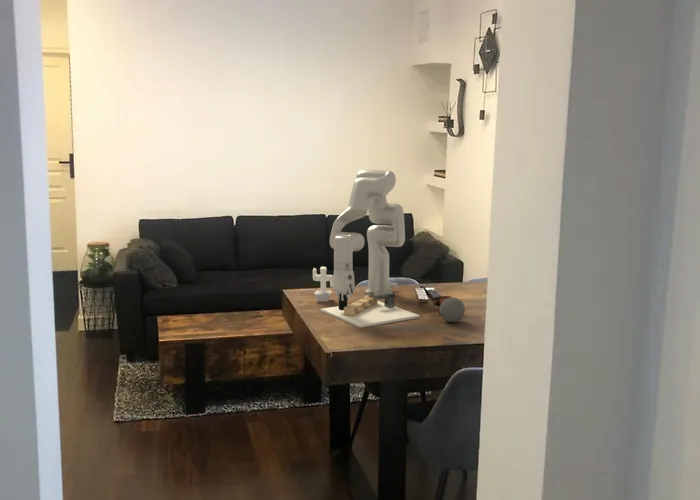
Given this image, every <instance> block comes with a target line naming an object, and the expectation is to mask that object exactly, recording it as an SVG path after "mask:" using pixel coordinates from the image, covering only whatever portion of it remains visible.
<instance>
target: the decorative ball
mask: <svg viewBox="0 0 700 500" xmlns="http://www.w3.org/2000/svg"><path fill="white" fill-rule="evenodd" d="M439 310H440V314H441V315H440V316H441V318H442V319H443V320H444V321H446V322H448V323H457V322H459V321H460V320H462V319H463V317H464V316H465V313H466V308H465V304H464V303H463V301H462V300H461V299H459V298H457V297H453V296H451V297H450V298H447V299H445V300H444V301H443V302H442V303H441V305H440V306H439Z"/></svg>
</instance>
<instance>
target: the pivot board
mask: <svg viewBox="0 0 700 500" xmlns="http://www.w3.org/2000/svg"><path fill="white" fill-rule="evenodd" d="M348 305H349V304H347V306H348ZM320 312H321V313H324V314H327V315H329V316H332V317H333V318H336V319H339V320H341V321H343V322H345V323H348V324H350V325H352V326H356V327H358V328H360V329H361V327H362V328H366V327H367V328H368V327H373V326H378V325H384V324H390V323H397V322H402V321H407V320H414V319H420V314H417V313H414V312H412V311H408V310H405V309H402V308H400V307H397V306H394V307H391V308H387V307H384V302H382V301H381V300H378V304H376V305H372V306H370V307H368V308H367V309H365V310H363V311H361V312H359V313H357V314H355V315H353V316H351V315H344V310H339V305H337V306H331V307H324V308H320Z"/></svg>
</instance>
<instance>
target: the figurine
mask: <svg viewBox="0 0 700 500" xmlns="http://www.w3.org/2000/svg"><path fill="white" fill-rule="evenodd" d="M327 270H328V269H327V267H326V266H320V268H319V272H320V274H318V273H317V268H315V267H313V269H312V280H313V281H314V282H315V281H316V282H320V289H319V290H315V292H314V294H313V295H314V297H315V298H316V301H317V302H325V303H326V302H327V303H328V302H329V300H330V298H331V294H332V293H333V290H327V282H329V286H330V288H333V275H332V274H327Z"/></svg>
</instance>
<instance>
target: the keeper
mask: <svg viewBox="0 0 700 500" xmlns="http://www.w3.org/2000/svg"><path fill="white" fill-rule="evenodd" d="M373 298H374V299H377V300H378V301H380V300H384V302H383V303H384V307H387V308H391V307H395V293H394V292H393V291H392V292H386V293H382V294H375V295H373Z"/></svg>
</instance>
